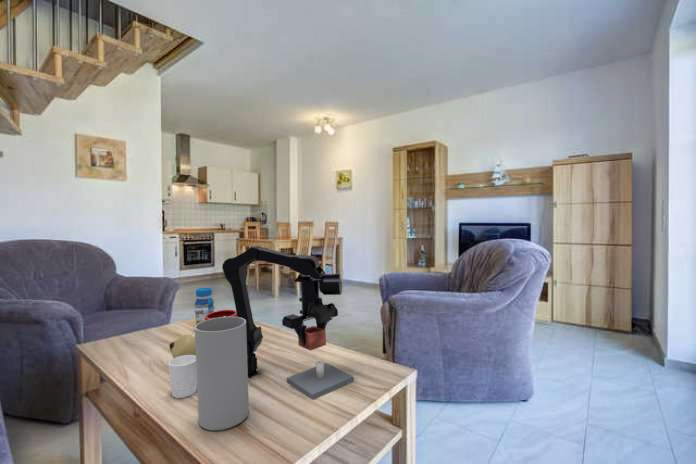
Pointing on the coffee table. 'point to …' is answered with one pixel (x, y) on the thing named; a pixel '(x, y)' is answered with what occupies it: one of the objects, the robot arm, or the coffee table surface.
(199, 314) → the beverage bottle
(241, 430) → the coffee table surface
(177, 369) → the white cup
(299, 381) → the flat gray board
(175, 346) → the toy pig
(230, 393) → the cylinder vase
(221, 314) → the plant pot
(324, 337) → the red square tube
